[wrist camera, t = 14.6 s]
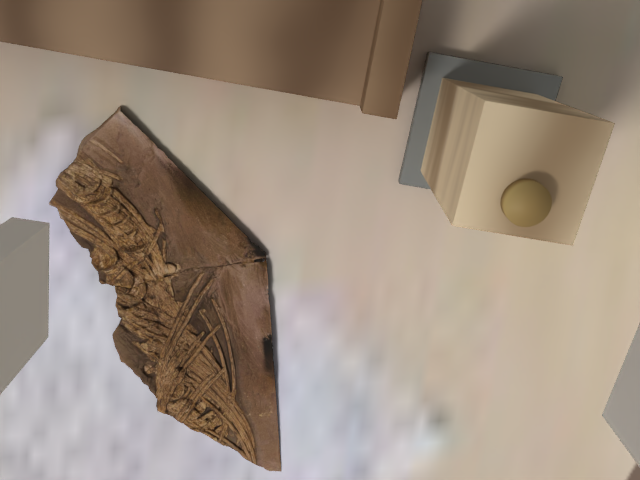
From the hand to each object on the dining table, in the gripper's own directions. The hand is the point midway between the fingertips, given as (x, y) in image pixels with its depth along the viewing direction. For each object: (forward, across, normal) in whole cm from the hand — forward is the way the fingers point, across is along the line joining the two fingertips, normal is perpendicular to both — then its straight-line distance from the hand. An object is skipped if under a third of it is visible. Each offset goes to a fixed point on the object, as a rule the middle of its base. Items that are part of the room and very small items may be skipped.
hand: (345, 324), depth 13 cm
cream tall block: (+20, +8, +2) cm, 21 cm away
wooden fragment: (+21, -6, -12) cm, 25 cm away
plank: (+21, -9, +6) cm, 23 cm away
